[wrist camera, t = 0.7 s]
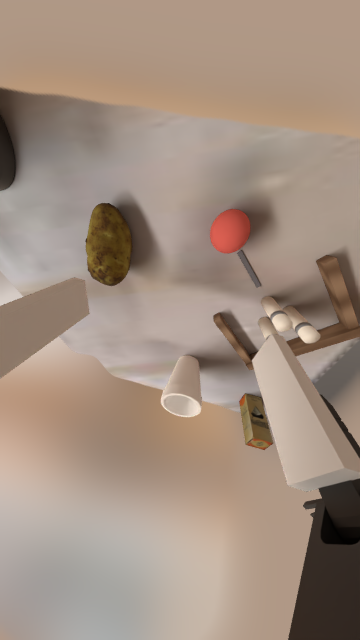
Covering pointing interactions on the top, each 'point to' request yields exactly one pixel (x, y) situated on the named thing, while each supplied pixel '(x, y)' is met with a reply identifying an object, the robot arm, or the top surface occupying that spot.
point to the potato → (108, 245)
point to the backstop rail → (328, 335)
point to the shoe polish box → (255, 422)
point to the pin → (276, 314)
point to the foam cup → (183, 388)
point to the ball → (230, 231)
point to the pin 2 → (302, 326)
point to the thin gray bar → (248, 268)
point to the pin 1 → (267, 327)
